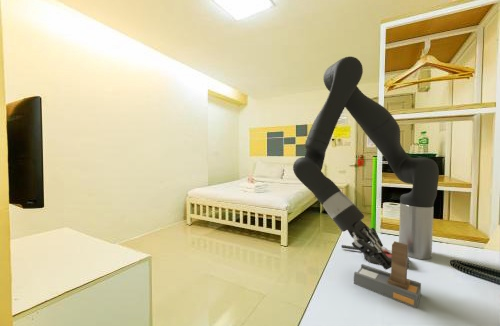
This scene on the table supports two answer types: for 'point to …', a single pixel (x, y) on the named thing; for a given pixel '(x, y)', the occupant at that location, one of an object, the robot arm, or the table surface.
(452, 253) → the table surface
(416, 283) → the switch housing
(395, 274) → the brown wooden block
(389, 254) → the walkie-talkie
